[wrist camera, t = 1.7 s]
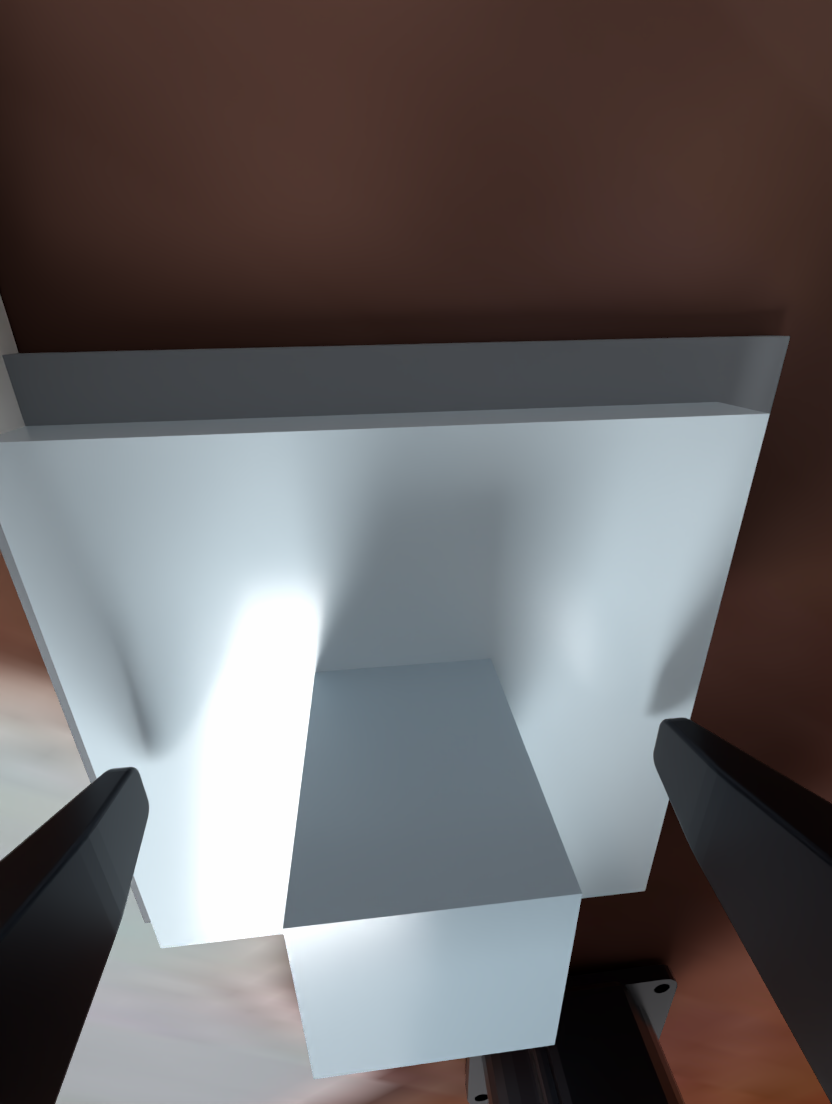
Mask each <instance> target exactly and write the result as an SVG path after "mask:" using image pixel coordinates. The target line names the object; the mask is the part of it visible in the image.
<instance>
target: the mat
mask: <svg viewBox="0 0 832 1104" xmlns="http://www.w3.org/2000/svg"><path fill="white" fill-rule="evenodd" d="M789 339H790V336H773V335H771V336H729V337H687V338H644V339H602V340H559V341H517V342H475V343H432V344H390V345H348V346H305V347H263V348H221V349H178V350H136V351H94V352H51V353H16V354H6V355H2V357H3V360H4V363H5V366H6V369H7V372H8V375H9V378H10V381H11V384H12V387H13V390H14V393H15V396H16V399H17V402H18V405H19V409H20V412H21V415H22V418H23V421H24V424H25V426H43V425H72V424H101V423H129V422H158V421H186V420H215V419H244V418H272V417H301V416H330V415H358V414H387V413H415V412H444V411H473V410H501V409H530V408H559V407H587V406H616V405H644V404H673V403H702V402H720V403H725V404H729V405H734V406H738V407H743V408H747V409H751V410H756V411H760V412H765V413H769V414H770V412H771V408H772V404H773V400H774V397H775V393H776V389H777V385H778V381H779V377H780V374H781V370H782V366H783V362H784V358H785V355H786V351H787V347H788V343H789ZM769 416H770V415H769ZM768 420H769V419H768ZM767 423H768V422H767ZM766 427H767V426H766ZM765 431H766V430H765ZM764 435H765V434H764ZM763 439H764V438H763ZM761 446H762V445H761ZM760 450H761V449H760ZM759 454H760V453H759ZM758 458H759V457H758ZM757 462H758V461H757ZM755 469H756V468H755ZM754 473H755V472H754ZM753 477H754V476H753ZM752 481H753V480H752ZM751 485H752V484H751ZM750 488H751V487H750ZM749 492H750V491H749ZM748 496H749V495H748ZM747 500H748V499H747ZM746 504H747V503H746ZM744 511H745V510H744ZM743 515H744V514H743ZM742 519H743V518H742ZM741 523H742V522H741ZM740 527H741V526H740ZM738 534H739V533H738ZM737 538H738V537H737ZM736 542H737V541H736ZM735 546H736V545H735ZM0 549H1V552H2V554H3V557H4V560H5V562H6V565H7V567H8V570H9V572H10V575H11V578H12V580H13V583H14V585H15V588H16V591H17V593H18V596H19V598H20V601H21V604H22V606H23V609H24V611H25V614H26V616H27V619H28V622H29V624H30V627H31V629H32V632H33V635H34V637H35V640H36V642H37V645H38V648H39V650H40V653H41V655H42V658H43V660H44V663H45V666H46V668H47V671H48V673H49V676H50V679H51V681H52V684H53V686H54V689H55V692H56V694H57V697H58V699H59V702H60V704H61V707H62V710H63V712H64V715H65V717H66V720H67V723H68V725H69V728H70V730H71V733H72V736H73V738H74V741H75V743H76V746H77V749H78V751H79V754H80V756H81V759H82V761H83V764H84V767H85V769H86V772H87V774H88V777H89V780H90V782H91V783H92V782H93V781H95V780H96V779H97V778H96V775H95V772H94V770H93V767H92V764H91V762H90V759H89V757H88V754H87V751H86V749H85V746H84V743H83V741H82V738H81V735H80V733H79V730H78V727H77V725H76V722H75V719H74V717H73V714H72V712H71V709H70V706H69V704H68V701H67V698H66V696H65V693H64V690H63V688H62V685H61V682H60V680H59V677H58V674H57V672H56V669H55V667H54V664H53V661H52V659H51V656H50V653H49V651H48V648H47V645H46V643H45V640H44V637H43V635H42V632H41V629H40V627H39V624H38V622H37V619H36V616H35V614H34V611H33V608H32V606H31V603H30V600H29V598H28V595H27V592H26V590H25V587H24V584H23V582H22V579H21V577H20V574H19V571H18V569H17V566H16V563H15V561H14V558H13V555H12V553H11V550H10V547H9V545H8V542H7V539H6V537H5V534H4V532H3V529H2V526H1V524H0ZM734 550H735V549H734ZM732 557H733V556H732ZM731 561H732V560H731ZM730 565H731V564H730ZM729 569H730V568H729ZM727 576H728V575H727ZM726 580H727V579H726ZM725 584H726V583H725ZM724 588H725V587H724ZM723 592H724V591H723ZM721 599H722V598H721ZM720 603H721V602H720ZM719 607H720V606H719ZM718 611H719V610H718ZM715 622H716V621H715ZM714 626H715V625H714ZM713 630H714V629H713ZM712 634H713V633H712ZM710 641H711V640H710ZM709 645H710V644H709ZM708 649H709V648H708ZM707 653H708V652H707ZM706 657H707V656H706ZM704 664H705V663H704ZM703 668H704V667H703ZM702 672H703V671H702ZM701 676H702V675H701ZM698 687H699V686H698ZM697 691H698V690H697ZM696 695H697V694H696ZM695 699H696V698H695ZM692 710H693V709H692ZM691 714H692V713H691ZM690 718H691V717H690ZM668 802H669V801H668ZM667 806H668V805H667ZM664 817H665V816H664ZM663 821H664V820H663ZM662 825H663V824H662ZM661 829H662V828H661ZM658 840H659V839H658ZM657 844H658V843H657ZM656 848H657V847H656ZM652 863H653V862H652ZM131 888H132V891H133V894H134V896H135V899H136V901H137V904H138V906H139V909H140V912H141V914H142V917H143V919H144V922H145V923H150V922H151V921H150V918H149V915H148V913H147V910H146V907H145V905H144V902H143V900H142V897H141V894H140V892H139V889H138V886H137V884H136V881H135V878H134V876H133V879H132V883H131Z"/></svg>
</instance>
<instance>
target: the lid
mask: <svg viewBox="0 0 832 1104" xmlns="http://www.w3.org/2000/svg"><path fill="white" fill-rule="evenodd" d="M769 415H770V414H769V413H765V412H760V411H756V410H751V409H747V408H743V407H738V406H734V405H729V404H725V403H720V402H702V403H673V404H644V405H616V406H587V407H559V408H530V409H501V410H473V411H444V412H415V413H387V414H358V415H330V416H301V417H272V418H244V419H215V420H186V421H158V422H129V423H101V424H72V425H43V426H24V427H21V428H18V429H15V430H11V431H8V432H5V433H2V434H0V524H1V526H2V529H3V532H4V534H5V537H6V539H7V542H8V545H9V547H10V550H11V553H12V555H13V558H14V561H15V563H16V566H17V569H18V571H19V574H20V577H21V579H22V582H23V584H24V587H25V590H26V592H27V595H28V598H29V600H30V603H31V606H32V608H33V611H34V614H35V616H36V619H37V622H38V624H39V627H40V629H41V632H42V635H43V637H44V640H45V643H46V645H47V648H48V651H49V653H50V656H51V659H52V661H53V664H54V667H55V669H56V672H57V674H58V677H59V680H60V682H61V685H62V688H63V690H64V693H65V696H66V698H67V701H68V704H69V706H70V709H71V712H72V714H73V717H74V719H75V722H76V725H77V727H78V730H79V733H80V735H81V738H82V741H83V743H84V746H85V749H86V751H87V754H88V757H89V759H90V762H91V764H92V767H93V770H94V772H95V775H96V778H98V777H99V776H101V775H102V774H103V773H104V772H106V771H107V770H109V769H112V768H123V767H135V768H136V769H137V770H138V771H139V773H140V776H141V779H142V782H143V785H144V788H145V791H146V794H147V797H148V801H149V816H148V820H147V824H146V828H145V832H144V836H143V840H142V843H141V847H140V851H139V855H138V859H137V863H136V867H135V871H134V875H133V876H134V878H135V881H136V884H137V886H138V889H139V892H140V894H141V897H142V900H143V902H144V905H145V907H146V910H147V913H148V915H149V918H150V921H151V923H152V926H153V929H154V931H155V934H156V937H157V939H158V942H159V945H160V947H161V948H168V947H176V946H184V945H193V944H201V943H210V942H218V941H227V940H235V939H244V938H252V937H260V936H269V935H277V934H284V938H285V942H286V947H287V952H288V957H289V962H290V967H291V972H292V976H293V981H294V986H295V991H296V996H297V1001H298V1005H299V1010H300V1015H301V1020H302V1025H303V1030H304V1035H305V1039H306V1044H307V1049H308V1054H309V1059H310V1064H311V1068H312V1073H313V1078H314V1079H319V1078H326V1077H333V1076H340V1075H347V1074H354V1073H361V1072H368V1071H375V1070H382V1069H389V1068H396V1067H403V1066H410V1065H417V1064H424V1063H431V1062H438V1061H445V1060H452V1059H459V1058H466V1057H473V1056H480V1055H487V1054H494V1053H501V1052H508V1051H515V1050H522V1049H529V1048H536V1047H543V1046H550V1045H555V1040H556V1035H557V1029H558V1024H559V1018H560V1013H561V1007H562V1002H563V996H564V991H565V985H566V980H567V975H568V969H569V964H570V958H571V953H572V947H573V942H574V936H575V931H576V925H577V920H578V914H579V909H580V903H581V898H590V897H598V896H607V895H615V894H623V893H632V892H640V891H645V889H646V885H647V881H648V878H649V874H650V870H651V866H652V862H653V859H654V855H655V851H656V847H657V843H658V839H659V836H660V832H661V828H662V824H663V820H664V816H665V813H666V809H667V805H668V801H669V797H668V795H667V793H666V791H665V788H664V786H663V784H662V781H661V779H660V777H659V775H658V772H657V770H656V767H655V764H654V760H653V751H654V747H655V743H656V738H657V734H658V730H659V725H660V723H661V722H662V721H663V720H664V719H669V718H681V717H683V718H687V719H690V717H691V713H692V709H693V706H694V702H695V698H696V694H697V690H698V686H699V683H700V679H701V675H702V671H703V667H704V663H705V660H706V656H707V652H708V648H709V644H710V640H711V637H712V633H713V629H714V625H715V621H716V618H717V614H718V610H719V606H720V602H721V598H722V595H723V591H724V587H725V583H726V579H727V575H728V572H729V568H730V564H731V560H732V556H733V553H734V549H735V545H736V541H737V537H738V533H739V530H740V526H741V522H742V518H743V514H744V510H745V507H746V503H747V499H748V495H749V491H750V487H751V484H752V480H753V476H754V472H755V468H756V465H757V461H758V457H759V453H760V449H761V445H762V442H763V438H764V434H765V430H766V426H767V422H768V419H769Z"/></svg>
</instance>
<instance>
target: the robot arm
mask: <svg viewBox="0 0 832 1104" xmlns="http://www.w3.org/2000/svg"><path fill="white" fill-rule="evenodd" d="M653 760H654V764H655V767H656V770H657V772H658V775H659V777H660V779H661V781H662V784H663V786H664V788H665V791H666V793H667V795H668V797H669V800H670V802H671V804H672V807H673V809H674V811H675V814H676V816H677V818H678V820H679V823H680V825H681V827H682V830H683V832H684V834H685V836H686V839H687V841H688V843H689V845H690V847H691V849H692V852H693V854H694V855H695V857H696V859H697V861H698V863H699V865H700V867H701V869H702V871H703V872H704V874H705V876H706V878H707V880H708V881H709V883H710V885H711V887H712V889H713V890H714V892H715V894H716V896H717V898H718V899H719V901H720V903H721V905H722V907H723V909H724V910H725V912H726V914H727V916H728V918H729V919H730V921H731V923H732V925H733V927H734V928H735V930H736V932H737V934H738V936H739V938H740V939H741V941H742V943H743V945H744V947H745V948H746V950H747V952H748V954H749V956H750V957H751V959H752V961H753V963H754V965H755V966H756V968H757V970H758V972H759V974H760V976H761V977H762V979H763V981H764V983H765V985H766V986H767V988H768V990H769V992H770V994H771V995H772V997H773V999H774V1001H775V1003H776V1004H777V1006H778V1008H779V1010H780V1012H781V1014H782V1015H783V1017H784V1019H785V1021H786V1023H787V1024H788V1026H789V1028H790V1030H791V1032H792V1033H793V1035H794V1037H795V1039H796V1041H797V1043H798V1044H799V1046H800V1048H801V1050H802V1052H803V1053H804V1055H805V1057H806V1059H807V1061H808V1062H809V1064H810V1066H811V1068H812V1070H813V1071H814V1073H815V1075H816V1077H817V1079H818V1081H819V1082H820V1084H821V1086H822V1088H823V1090H824V1091H825V1093H826V1095H827V1097H828V1099H829V1100H830V1102H831V1104H832V804H831V803H830V802H828V801H826V800H825V799H823V798H821V797H820V796H818V795H816V794H814V793H813V792H811V791H809V790H808V789H806V788H804V787H803V786H801V785H799V784H798V783H796V782H794V781H793V780H791V779H789V778H788V777H786V776H784V775H782V774H781V773H779V772H777V771H776V770H774V769H772V768H771V767H769V766H767V765H766V764H764V763H762V762H761V761H759V760H757V759H755V758H754V757H752V756H750V755H749V754H747V753H745V752H744V751H742V750H740V749H739V748H737V747H735V746H734V745H732V744H730V743H729V742H727V741H725V740H723V739H722V738H720V737H718V736H717V735H715V734H713V733H712V732H710V731H708V730H707V729H705V728H703V727H702V726H700V725H698V724H697V723H695V722H693V721H691V720H690V719H687V718H683V717H681V718H669V719H664V720H663V721H662V722H661V723H660V725H659V730H658V734H657V738H656V743H655V747H654V751H653ZM148 816H149V801H148V797H147V794H146V791H145V788H144V785H143V782H142V779H141V776H140V773H139V771H138V770H137V769H136V768H135V767H123V768H112V769H109V770H107V771H106V772H104V773H103V774H102V775H101V776H99V777H98V778H97V779H96V780H95V781H93V782H92V783H91V784H90V785H89V786H88V787H86V788H85V789H84V790H83V791H82V792H81V793H79V794H78V795H77V796H76V797H75V798H74V799H72V800H71V801H70V802H69V803H68V804H66V805H65V806H64V807H63V808H62V809H61V810H59V811H58V812H57V813H56V814H55V815H54V816H52V817H51V818H50V819H49V820H48V821H47V822H45V823H44V824H43V825H42V826H41V827H40V828H38V829H37V830H36V831H35V832H34V833H32V834H31V835H30V836H29V837H28V838H27V839H25V840H24V841H23V842H22V843H21V844H20V845H18V846H17V847H16V848H15V849H14V850H13V851H11V852H10V853H9V854H8V855H7V856H5V857H4V858H3V859H2V860H1V861H0V1104H55V1103H56V1100H57V1097H58V1094H59V1092H60V1089H61V1086H62V1083H63V1081H64V1078H65V1075H66V1072H67V1069H68V1067H69V1064H70V1061H71V1058H72V1056H73V1053H74V1050H75V1047H76V1045H77V1042H78V1039H79V1036H80V1034H81V1031H82V1028H83V1025H84V1023H85V1020H86V1017H87V1014H88V1012H89V1009H90V1006H91V1003H92V1000H93V998H94V995H95V992H96V989H97V987H98V984H99V981H100V978H101V976H102V973H103V970H104V967H105V965H106V962H107V959H108V956H109V954H110V951H111V948H112V945H113V942H114V940H115V937H116V934H117V931H118V928H119V925H120V922H121V919H122V916H123V913H124V909H125V906H126V902H127V898H128V894H129V890H130V887H131V883H132V879H133V875H134V871H135V867H136V863H137V859H138V855H139V851H140V847H141V843H142V840H143V836H144V832H145V828H146V824H147V820H148ZM676 988H677V982H676V980H675V978H674V976H673V974H672V971H671V969H670V968H669V967H668V966H666V965H651V966H644V967H636V968H629V969H621V970H613V971H606V972H598V973H590V974H583V975H575V976H568V977H567V980H566V985H565V991H564V996H563V1002H562V1007H561V1013H560V1018H559V1024H558V1029H557V1035H556V1040H555V1045H550V1046H543V1047H536V1048H529V1049H522V1050H515V1051H508V1052H501V1053H494V1054H487V1055H480V1056H473V1057H467V1060H466V1082H465V1085H466V1092H467V1099H468V1102H469V1103H470V1104H488V1103H489V1104H685V1102H684V1100H683V1098H682V1095H681V1093H680V1090H679V1088H678V1086H677V1083H676V1081H675V1078H674V1076H673V1074H672V1071H671V1069H670V1066H669V1064H668V1062H667V1059H666V1057H665V1054H664V1052H663V1050H662V1047H661V1045H660V1042H659V1038H660V1035H661V1032H662V1029H663V1026H664V1023H665V1020H666V1017H667V1014H668V1012H669V1009H670V1006H671V1003H672V1000H673V997H674V994H675V991H676Z"/></svg>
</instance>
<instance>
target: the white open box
mask: <svg viewBox="0 0 832 1104" xmlns="http://www.w3.org/2000/svg"><path fill="white" fill-rule="evenodd" d="M16 353H19V352H18V349H17V346H16V343H15V340H14V336H13V333H12V330H11V327H10V324H9V321H8V317H7V314H6V311H5V308H4V305H3V302H2V298H1V295H0V434H2V433H5V432H8V431H11V430H15V429H18V428H21V427H24V426H25V424H24V421H23V418H22V415H21V412H20V409H19V405H18V402H17V399H16V396H15V393H14V390H13V387H12V384H11V381H10V378H9V375H8V372H7V369H6V366H5V363H4V360H3V357H2V355H6V354H16Z"/></svg>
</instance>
